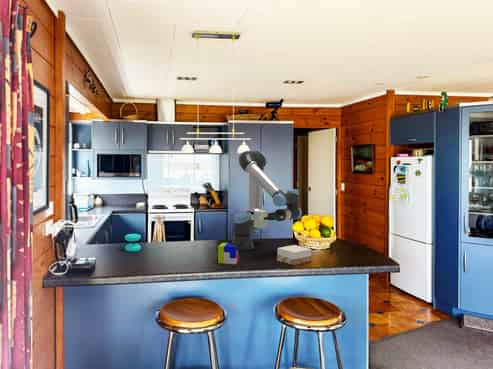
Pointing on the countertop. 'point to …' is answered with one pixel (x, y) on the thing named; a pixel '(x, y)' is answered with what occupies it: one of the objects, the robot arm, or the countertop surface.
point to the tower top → (294, 252)
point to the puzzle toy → (228, 253)
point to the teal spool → (132, 246)
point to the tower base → (293, 260)
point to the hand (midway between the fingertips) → (255, 218)
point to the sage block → (260, 223)
